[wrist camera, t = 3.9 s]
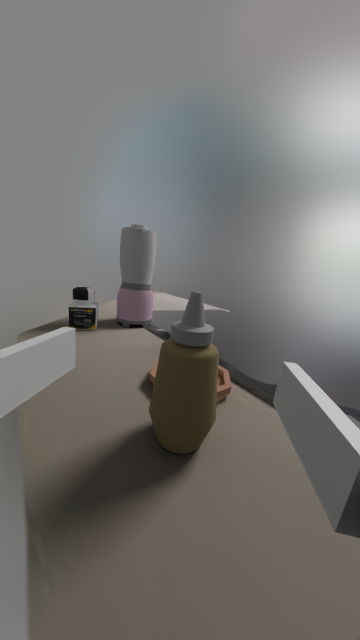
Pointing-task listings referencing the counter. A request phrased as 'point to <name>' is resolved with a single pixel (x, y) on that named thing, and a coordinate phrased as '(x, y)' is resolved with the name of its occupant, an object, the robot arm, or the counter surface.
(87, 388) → the counter surface
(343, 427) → the robot arm
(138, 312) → the blender
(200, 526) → the counter surface
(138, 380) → the counter surface
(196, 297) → the squeeze bottle
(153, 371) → the dish
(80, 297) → the medicine bottle
